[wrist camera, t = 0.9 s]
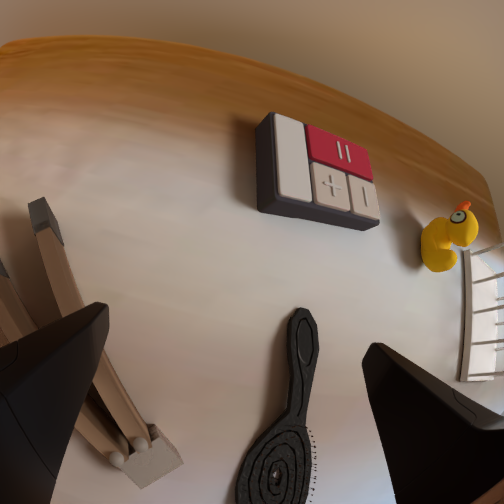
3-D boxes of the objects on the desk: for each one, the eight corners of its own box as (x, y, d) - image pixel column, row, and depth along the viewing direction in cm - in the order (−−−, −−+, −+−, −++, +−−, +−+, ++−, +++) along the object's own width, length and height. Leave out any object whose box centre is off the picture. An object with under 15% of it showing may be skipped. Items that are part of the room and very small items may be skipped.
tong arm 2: (116, 443, 18) (116, 471, 14) (-13, 264, 17) (-41, 247, 12) (128, 434, 19) (130, 461, 14) (-2, 254, 18) (-29, 236, 13)
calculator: (385, 223, 33) (278, 195, 26) (360, 233, 36) (256, 212, 30) (369, 146, 35) (272, 105, 29) (348, 160, 39) (254, 127, 33)
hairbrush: (349, 312, 28) (314, 532, 19) (327, 316, 31) (296, 520, 22) (277, 296, 26) (240, 545, 16) (259, 302, 29) (226, 528, 19)
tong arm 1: (133, 431, 19) (137, 457, 15) (43, 226, 20) (25, 201, 16) (147, 424, 20) (154, 449, 15) (56, 220, 21) (42, 193, 16)
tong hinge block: (138, 472, 19) (141, 489, 16) (115, 448, 18) (115, 463, 16) (176, 448, 21) (183, 463, 18) (155, 424, 21) (159, 437, 18)
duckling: (419, 208, 43) (467, 186, 34) (436, 227, 44) (482, 209, 35) (409, 264, 38) (467, 246, 29) (427, 283, 39) (482, 269, 30)
